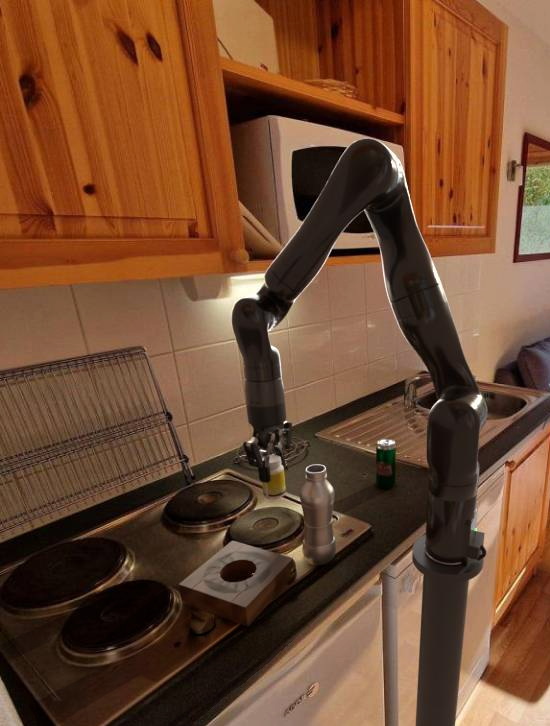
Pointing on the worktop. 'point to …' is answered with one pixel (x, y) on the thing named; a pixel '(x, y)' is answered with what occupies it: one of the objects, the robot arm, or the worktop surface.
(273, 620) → the worktop surface
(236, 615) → the bottle holder
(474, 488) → the robot arm
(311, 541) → the silver metal bottle
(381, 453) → the soda can
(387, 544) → the worktop surface
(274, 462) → the supplement bottle
